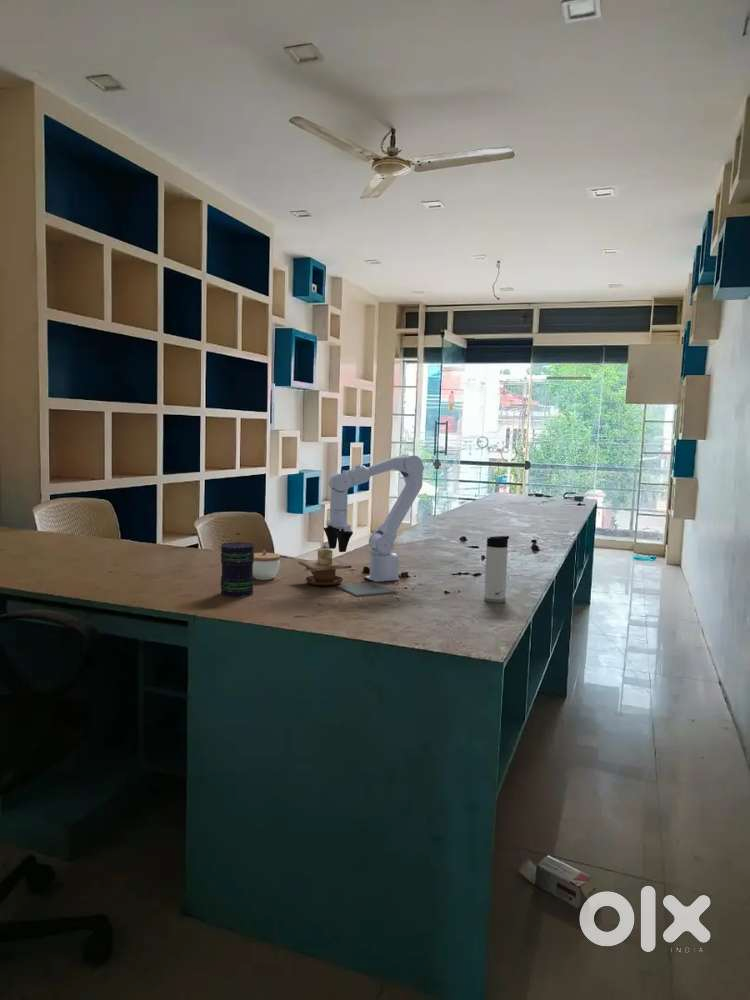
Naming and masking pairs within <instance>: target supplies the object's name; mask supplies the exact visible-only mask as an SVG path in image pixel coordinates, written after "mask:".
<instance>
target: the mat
mask: <svg viewBox="0 0 750 1000" xmlns="http://www.w3.org/2000/svg"><path fill="white" fill-rule="evenodd" d="M336 588H338V589H340V590H343V591H344V592H346V593H348V594H350V595H352V596H354V597H357V598H358V597H366V596H367V597H368V596H369V597H370V596H378V595H380V596H381V595H388V594H397V593H398V591H397V590H395V589H393V588H391V587H388V586H387V585H383V584H381V583H379V582H375V581H372V582H362V583H351V584H348V583H347V584H336Z"/></svg>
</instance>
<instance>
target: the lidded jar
mask: <svg viewBox="0 0 750 1000" xmlns="http://www.w3.org/2000/svg"><path fill="white" fill-rule="evenodd" d="M253 553H254V557H253V558H254V563H253V578H255V579H256V580H262V581H265V580H272V579H274V577H275V576H276V575H277V574H278V572H279V570H280V566H281V554H279V553H276V552H267V551H266V550H265V549H264V550H262V552H253Z"/></svg>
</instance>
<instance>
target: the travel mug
mask: <svg viewBox="0 0 750 1000" xmlns="http://www.w3.org/2000/svg"><path fill="white" fill-rule="evenodd" d="M509 539H510V536H509V535H499V536H498V535H497V536H495V535H494V536H490V537H487V539H486V552H485V554H486V555H485V570H484V571H485V573H484V574H485V576H484V597H483V598H484V601H485V602H487V603H493V604H494V603H495V604H499V603H500V604H501V603H504V602H506V593H507V592H506V591H507V590H506V588H507V572H508V571H507V569H508V548H509V547H508V542H509Z"/></svg>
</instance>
